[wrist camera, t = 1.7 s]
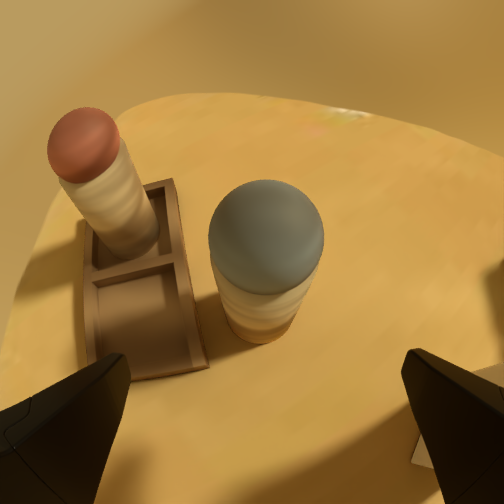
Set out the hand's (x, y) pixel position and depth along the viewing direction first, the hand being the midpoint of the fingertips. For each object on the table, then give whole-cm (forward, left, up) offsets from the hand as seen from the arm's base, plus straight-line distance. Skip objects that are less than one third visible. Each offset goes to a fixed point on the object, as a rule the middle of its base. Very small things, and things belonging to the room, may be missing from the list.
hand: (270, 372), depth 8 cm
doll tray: (+7, +10, -12) cm, 17 cm away
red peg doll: (+11, +12, -11) cm, 19 cm away
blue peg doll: (+6, 0, -12) cm, 13 cm away
